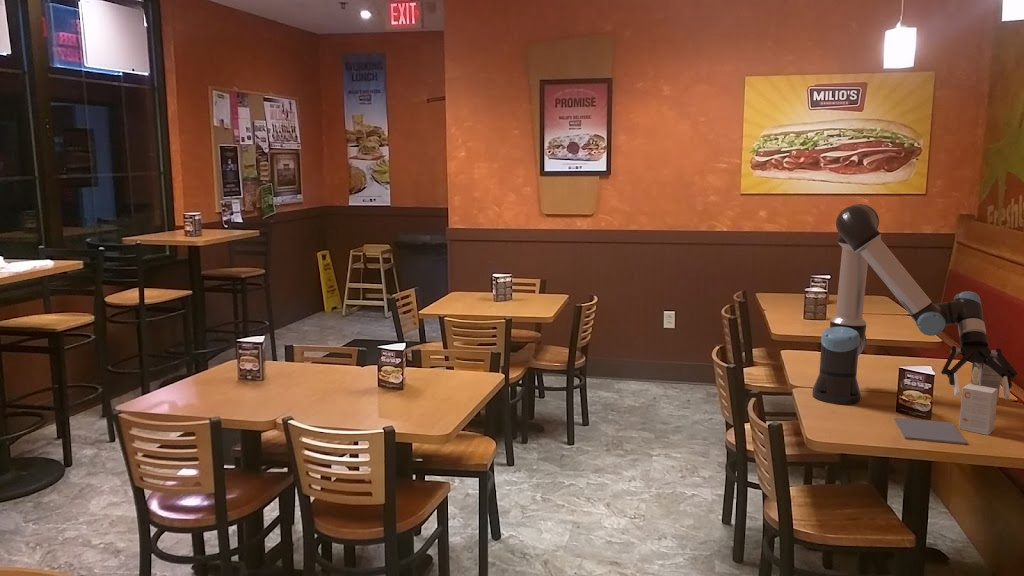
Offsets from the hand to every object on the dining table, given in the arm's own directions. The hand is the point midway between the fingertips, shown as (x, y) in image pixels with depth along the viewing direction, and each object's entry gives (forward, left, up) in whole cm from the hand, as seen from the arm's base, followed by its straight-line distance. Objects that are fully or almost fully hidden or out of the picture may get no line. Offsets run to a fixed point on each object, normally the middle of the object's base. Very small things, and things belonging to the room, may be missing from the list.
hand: (982, 395), depth 239 cm
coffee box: (+9, +31, -10) cm, 34 cm away
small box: (-2, -4, -10) cm, 11 cm away
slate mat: (-16, -10, -10) cm, 21 cm away
